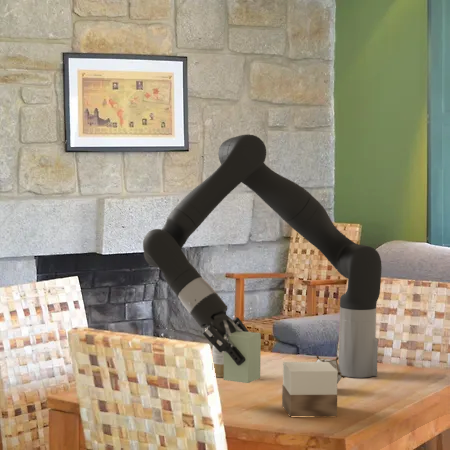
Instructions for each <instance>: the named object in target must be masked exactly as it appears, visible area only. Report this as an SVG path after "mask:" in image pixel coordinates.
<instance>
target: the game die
mask: <svg viewBox="0 0 450 450" xmlns="http://www.w3.org/2000/svg"><path fill="white" fill-rule="evenodd" d="M338 361H339V356H337V357H336V358H335V359H334V358H333V359H332V358H331V359H330V358H323V357H322V358H320V356H319V355H316V361H315V362H329V363H330V364H331V365H332V366H333V367H334V368H335V369H336V370H337V371H338V375H337V385H338V384H339V382H340V381H341V380H342V379H345V378H346V376H343V375H342V374H341V371H340V368H339V366H338V364H339V362H338Z"/></svg>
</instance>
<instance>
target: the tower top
mask: <svg viewBox="0 0 450 450" xmlns="http://www.w3.org/2000/svg"><path fill="white" fill-rule="evenodd" d="M282 365H283V368H282V385H284V387H285V388H286V389H287V391H288V392H289V394H290V395H337V396H338V384H337V375H338V371H337V370H336V369H335V368H334V367H333V366H332V365H331V364H330V363H329V362H316V361H283V363H282Z"/></svg>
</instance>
